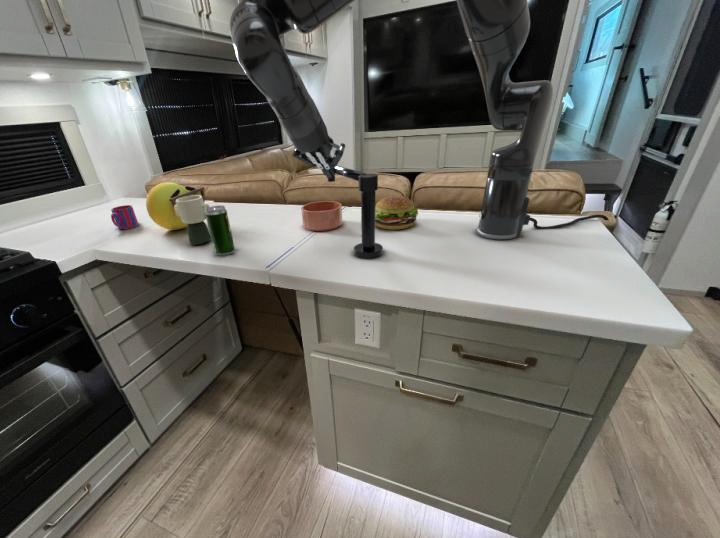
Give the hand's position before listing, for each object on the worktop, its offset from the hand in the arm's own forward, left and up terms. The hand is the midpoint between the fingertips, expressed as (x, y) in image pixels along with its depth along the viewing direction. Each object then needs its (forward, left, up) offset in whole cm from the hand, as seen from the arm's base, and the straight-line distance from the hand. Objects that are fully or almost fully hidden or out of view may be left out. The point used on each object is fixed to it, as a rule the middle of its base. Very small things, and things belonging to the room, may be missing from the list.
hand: (331, 174), depth 80 cm
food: (-17, -13, -18) cm, 28 cm away
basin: (+4, -16, -18) cm, 24 cm away
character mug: (+40, -7, -18) cm, 44 cm away
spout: (-4, -1, -4) cm, 6 cm away
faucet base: (-8, +8, -18) cm, 21 cm away
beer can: (+30, +2, -18) cm, 35 cm away
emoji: (+53, -22, -18) cm, 60 cm away
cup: (+75, -27, -18) cm, 82 cm away
